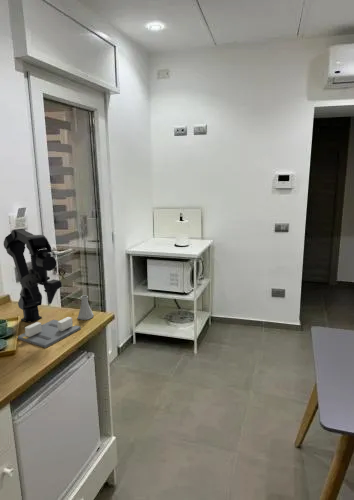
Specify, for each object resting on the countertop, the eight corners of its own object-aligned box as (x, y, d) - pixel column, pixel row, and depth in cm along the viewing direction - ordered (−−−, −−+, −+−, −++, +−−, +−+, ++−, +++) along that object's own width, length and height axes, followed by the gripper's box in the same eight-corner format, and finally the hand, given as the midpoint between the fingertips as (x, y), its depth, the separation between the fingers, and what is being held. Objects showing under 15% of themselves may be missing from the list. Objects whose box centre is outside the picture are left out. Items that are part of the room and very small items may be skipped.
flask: (89, 321, 162) (88, 299, 160) (74, 319, 164) (73, 298, 161) (96, 314, 169) (95, 294, 167) (81, 313, 170) (80, 293, 168)
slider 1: (25, 335, 145) (24, 327, 144) (37, 330, 150) (37, 321, 149) (29, 337, 144) (28, 328, 143) (41, 331, 149) (41, 323, 148)
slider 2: (57, 329, 150) (57, 321, 149) (68, 324, 155) (68, 316, 154) (62, 331, 149) (61, 322, 148) (72, 325, 154) (72, 317, 153)
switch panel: (17, 338, 145) (17, 336, 145) (53, 321, 161) (53, 319, 161) (45, 347, 138) (45, 345, 137) (80, 328, 154) (80, 326, 154)
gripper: (6, 267, 146) (10, 304, 149) (39, 273, 137) (42, 312, 141) (29, 261, 156) (33, 296, 159) (61, 267, 147) (64, 303, 150)
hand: (42, 301), depth 152 cm, fingers open, 9 cm apart
